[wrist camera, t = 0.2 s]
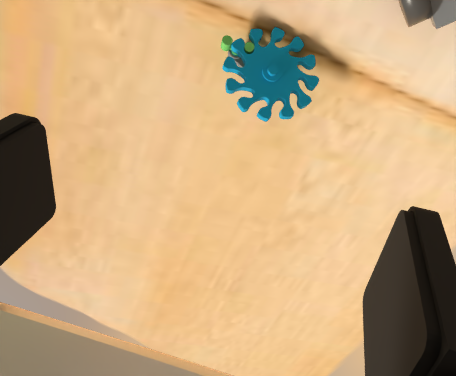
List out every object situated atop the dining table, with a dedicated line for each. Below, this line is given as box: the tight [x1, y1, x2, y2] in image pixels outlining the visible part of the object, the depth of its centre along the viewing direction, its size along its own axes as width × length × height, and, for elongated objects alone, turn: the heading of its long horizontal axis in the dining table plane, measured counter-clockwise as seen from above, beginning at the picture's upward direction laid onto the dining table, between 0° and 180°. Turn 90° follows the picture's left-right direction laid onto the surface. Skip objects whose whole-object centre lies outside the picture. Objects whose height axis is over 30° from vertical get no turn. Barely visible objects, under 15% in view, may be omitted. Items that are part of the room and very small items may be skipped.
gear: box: [221, 27, 319, 122], centre depth 44 cm, size 11×6×10 cm
